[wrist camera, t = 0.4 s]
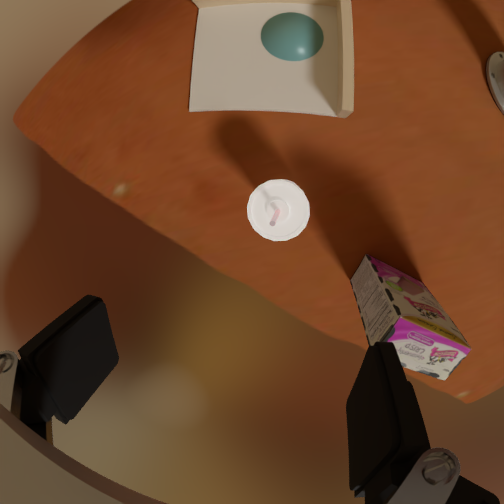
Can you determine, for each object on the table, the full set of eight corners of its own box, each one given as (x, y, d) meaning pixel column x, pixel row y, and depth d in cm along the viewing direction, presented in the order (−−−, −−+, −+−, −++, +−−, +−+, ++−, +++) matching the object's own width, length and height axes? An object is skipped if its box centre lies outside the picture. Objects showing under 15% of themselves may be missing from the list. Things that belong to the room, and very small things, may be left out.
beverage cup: (288, 163, 33) (278, 168, 20) (318, 202, 34) (326, 231, 21) (250, 193, 35) (219, 216, 22) (280, 229, 36) (266, 273, 23)
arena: (344, 3, 24) (349, -16, 18) (345, 118, 30) (353, 111, 25) (201, 4, 27) (186, -13, 21) (190, 111, 33) (172, 106, 28)
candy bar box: (424, 281, 35) (474, 348, 20) (407, 308, 37) (444, 383, 22) (365, 250, 35) (401, 316, 20) (347, 280, 37) (368, 358, 22)
